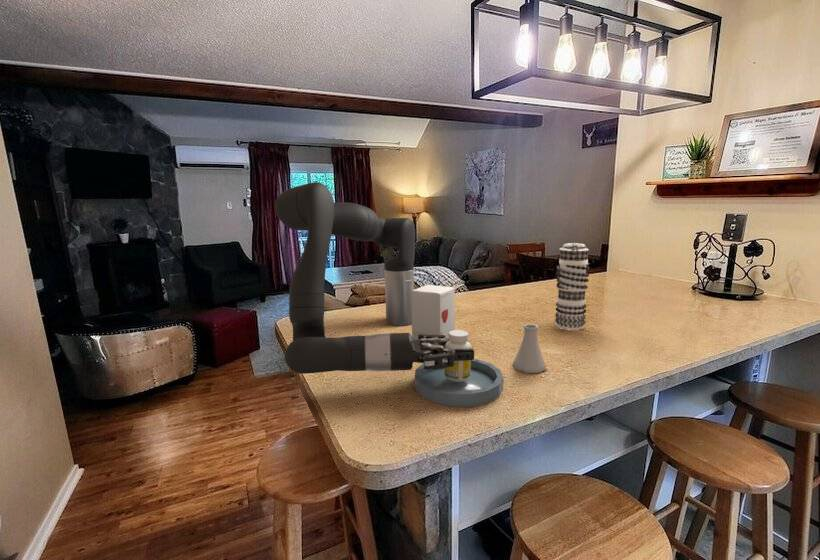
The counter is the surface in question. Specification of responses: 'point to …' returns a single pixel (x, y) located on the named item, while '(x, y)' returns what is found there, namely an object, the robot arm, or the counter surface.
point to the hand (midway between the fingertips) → (470, 348)
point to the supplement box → (433, 311)
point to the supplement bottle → (460, 368)
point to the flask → (529, 352)
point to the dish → (460, 385)
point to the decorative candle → (572, 286)
